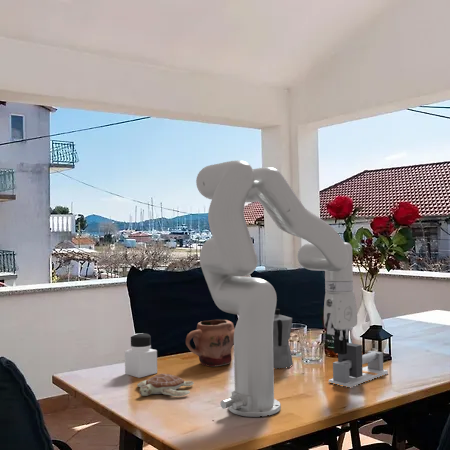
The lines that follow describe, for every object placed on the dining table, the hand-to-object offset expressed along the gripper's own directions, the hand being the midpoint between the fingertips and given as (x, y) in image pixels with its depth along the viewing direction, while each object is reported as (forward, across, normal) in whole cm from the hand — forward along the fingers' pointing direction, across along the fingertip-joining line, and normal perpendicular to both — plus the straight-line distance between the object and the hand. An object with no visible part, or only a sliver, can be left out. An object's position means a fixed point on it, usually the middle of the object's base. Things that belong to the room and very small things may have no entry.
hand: (340, 353), depth 149 cm
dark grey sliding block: (+7, +5, 0) cm, 8 cm away
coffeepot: (+9, +4, +26) cm, 28 cm away
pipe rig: (+9, +9, 0) cm, 13 cm away
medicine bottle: (+9, -31, +51) cm, 60 cm away
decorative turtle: (+9, -37, +32) cm, 50 cm away
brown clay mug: (+9, -9, +43) cm, 45 cm away
